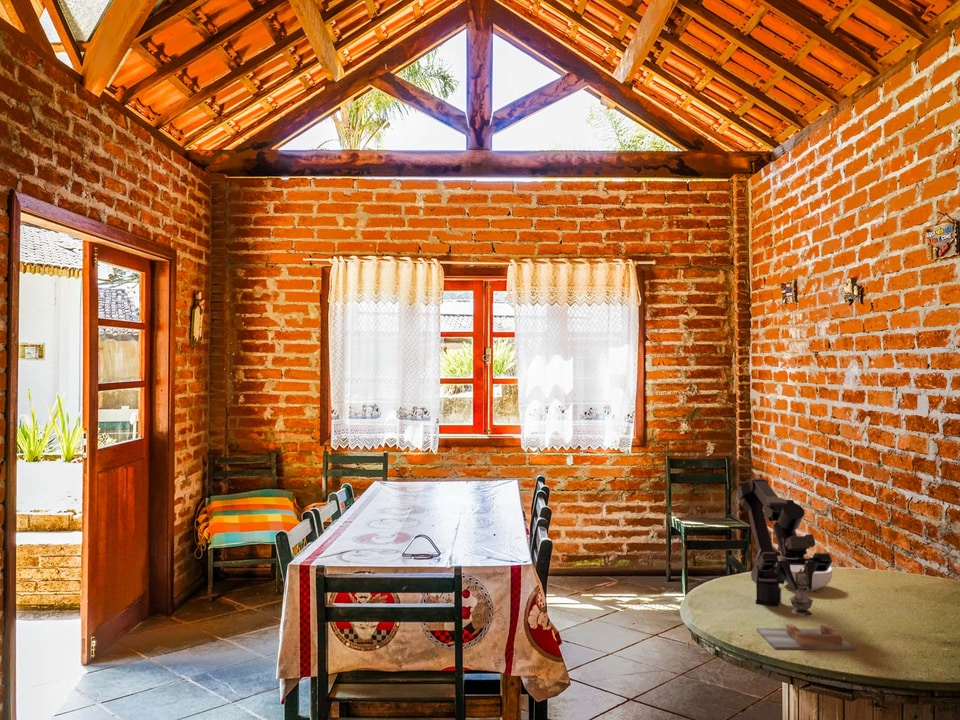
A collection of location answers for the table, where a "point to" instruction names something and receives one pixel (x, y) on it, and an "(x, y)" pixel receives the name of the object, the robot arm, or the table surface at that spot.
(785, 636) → the wooden u-frame tray
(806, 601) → the salt shaker
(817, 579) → the cereal bowl
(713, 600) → the table surface
